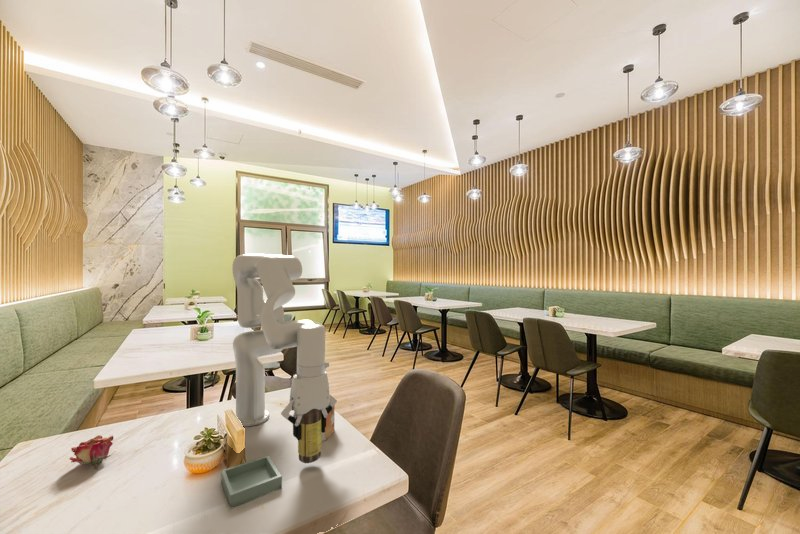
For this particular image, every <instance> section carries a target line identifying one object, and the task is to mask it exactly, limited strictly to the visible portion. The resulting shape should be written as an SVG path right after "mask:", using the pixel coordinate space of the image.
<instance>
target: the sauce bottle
mask: <svg viewBox="0 0 800 534" xmlns="http://www.w3.org/2000/svg"><path fill="white" fill-rule="evenodd" d="M300 425H301V439H300V440H299V441H298V440H297V449H298V450H297V453H298V460H299V462H301V463H304V464H311V463H314V462H316V461H318V460H319V459H320V458H321V456H322V441H321V410H318V409H312V410H310V411H309V412H307V413H306V414H303V416H302V418H301V421H300Z"/></svg>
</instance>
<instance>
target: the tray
mask: <svg viewBox="0 0 800 534" xmlns="http://www.w3.org/2000/svg"><path fill="white" fill-rule="evenodd" d="M220 473H221V475H220V476H221V477H220V479H221V480H220V481H221V482H220V484H221V485H222V489H223V492H224V495H225V497H226V500H227V504H228V506H229V509H233V508H235V507H238V506H240V505H243V504H245V503H248V502H250V501H253V500H256V499H258V498H260V497H264V496H265V495H268V494H271V493H273V492H276V491H279V490H281V489H283V485H282V484H283V481H282V480H283V477H282V476H283V475H282V474H281V472H279V470H278V468H277V466H276V464H274V462H273V460H272V459H271V457H270V455H268V454H267V455H265V456H262V457H259V458H255V459H253V460H250V461H247V462H243V463H240V464H237V465H234V466H231V467H228V468H225V469H223V470H221V472H220Z"/></svg>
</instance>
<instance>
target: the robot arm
mask: <svg viewBox="0 0 800 534" xmlns="http://www.w3.org/2000/svg"><path fill="white" fill-rule="evenodd" d="M231 269H232V270H231V271H232V276H233V280H234V283H235V287H236V291H237V321H238V324H239V326H240V327H241V328H244V329H254V328H260V327H261V329H260V330H253V331H252V330H251V331H245V332H241V333H239V334H238V335H237V336H235V337H234V339H233V341H232V342H233V343H232V349H233V353H234V359H235V414H236V416H237V417H238V419H239V420H240V421H241V423H242V425H243V426H244V427H243V428H246V427H253V426H257V425H260V424H262V423H264V422H266V421H267V420H268V419H269V417H270V411H268V410H267V409H265V408H266V407H265V406H266V397H265V396H266V390H265V389H266V385H265V384H266V372H265V371H266V370H265V367H264V365H263V363H261V361H260V360H259V358H260V357H267V356H272V355H276V354H278V353H281V352H282V351H283V350H285V349H291V348H296V374H293V376H292V381H291V386H290V392H289V403H288V404H287V405H286V406H285V407H284V408H283V410H282V411H281V412H280V413H281V414H280V415H281V416H282V417H283V418H284V419H286V420H287V421H289V422H290V423H291V424H292V436H293V437H295V438H296V439H297V442H298V441H299V440H300V439H301V425H300V421H301V418H302V416H303V414H306V413H307V412H309V411H310V410H312V409H318V410H321V432H323V433H324V432H325V427H326V418H327V417H328V414H329V412H330V411H331V410H332V407H333V406H334V407H335V405H336V403H337V402H338V401H337V399H336V398H335V397H334V396H332V394H330V384H329V377H328V374H327V373H328V372H327V371H326V369H327V368H329V367H330V362H329V361H328V362H327V361H326V328H325V326H324V325H323V324H320V323H315V322H314V321H313V320H311V319H308V318H307V319H305V318H304V319H297V320H295V319H293V320H287V321H285V311H284V307H283V306H284V305H286V304H288V303H289V302H290V301H291V300H292V299H293V298H294V297H295V295H296V289H295V286H294V285H293V281H296V280H299V279H300V278H301V276H302V274H303V265H302V262H301V260H300V259H299V258H298V257H296V256H295V255H286V254H273V253H267V254H266V253H244V254H239V255H236V257H235V258H234V259H233V261H232V268H231ZM257 278H259V280H258V279H257ZM259 281H260V282H259ZM264 292H265V293H264ZM264 294H265V296H266V298H267V299H265V300H264ZM329 401H330V402H329ZM291 411H294V412H293V415H291V414H290V413H291Z"/></svg>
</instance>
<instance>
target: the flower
mask: <svg viewBox="0 0 800 534" xmlns="http://www.w3.org/2000/svg"><path fill="white" fill-rule="evenodd" d="M112 441H114V435H110V436H108V437H104V436H102V435H96V436H95V437H93V438H90V439H89V440H87V441H82V442H80V443H79V445H78V446H75V447H71V450H70V451H71V452H72V453H73V455H74V456H75V457H73V456H70V457H69V460H70V461H71V463H78V464H81V465H84V466H85V465H86V466H89V465H93V470H95V469H98V464H99V463H102V462H103V461H104V460H107V459H108V458H110V456H111V455H113V454H114V453H115V451H113V452H112V453H111V454H109V452H110V449H111V447H112V446H113V444H114V443H113V442H112Z"/></svg>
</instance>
